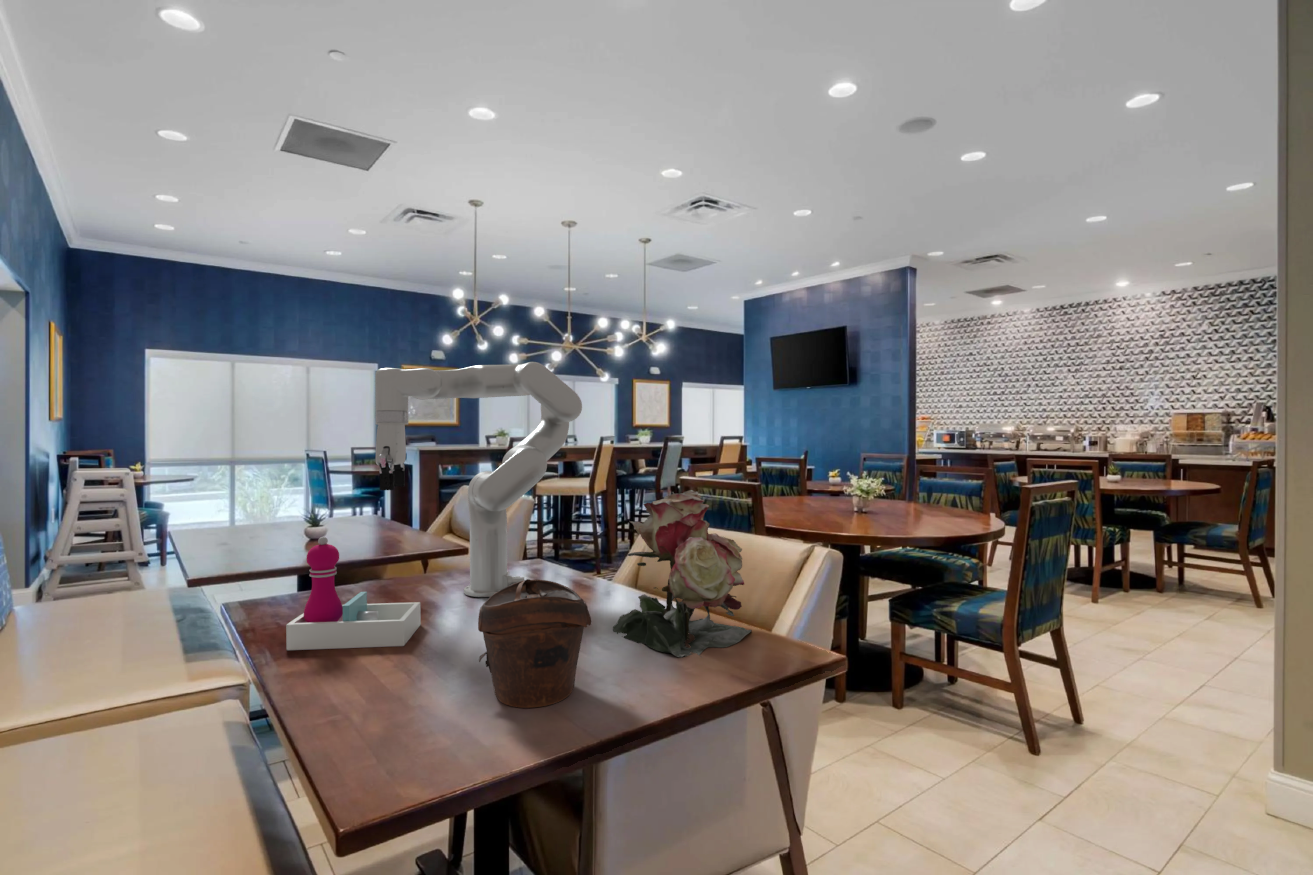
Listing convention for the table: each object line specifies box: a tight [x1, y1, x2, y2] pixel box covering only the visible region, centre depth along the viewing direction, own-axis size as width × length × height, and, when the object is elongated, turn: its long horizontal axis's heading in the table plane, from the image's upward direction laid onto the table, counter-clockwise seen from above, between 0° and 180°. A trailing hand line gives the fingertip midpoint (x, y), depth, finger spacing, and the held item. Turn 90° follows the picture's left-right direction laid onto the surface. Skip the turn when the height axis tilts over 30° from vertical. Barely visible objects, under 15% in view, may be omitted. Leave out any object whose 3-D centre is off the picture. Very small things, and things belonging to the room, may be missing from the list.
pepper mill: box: [303, 536, 343, 623], centre depth 136 cm, size 7×7×20 cm
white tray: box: [285, 601, 421, 651], centre depth 137 cm, size 22×14×5 cm, turn 97°
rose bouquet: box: [600, 489, 753, 658], centre depth 140 cm, size 26×29×30 cm
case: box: [477, 578, 592, 709], centre depth 109 cm, size 18×20×18 cm
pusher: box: [342, 591, 378, 621], centre depth 138 cm, size 5×11×7 cm, turn 7°
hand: (392, 488), depth 164 cm, fingers open, 9 cm apart
